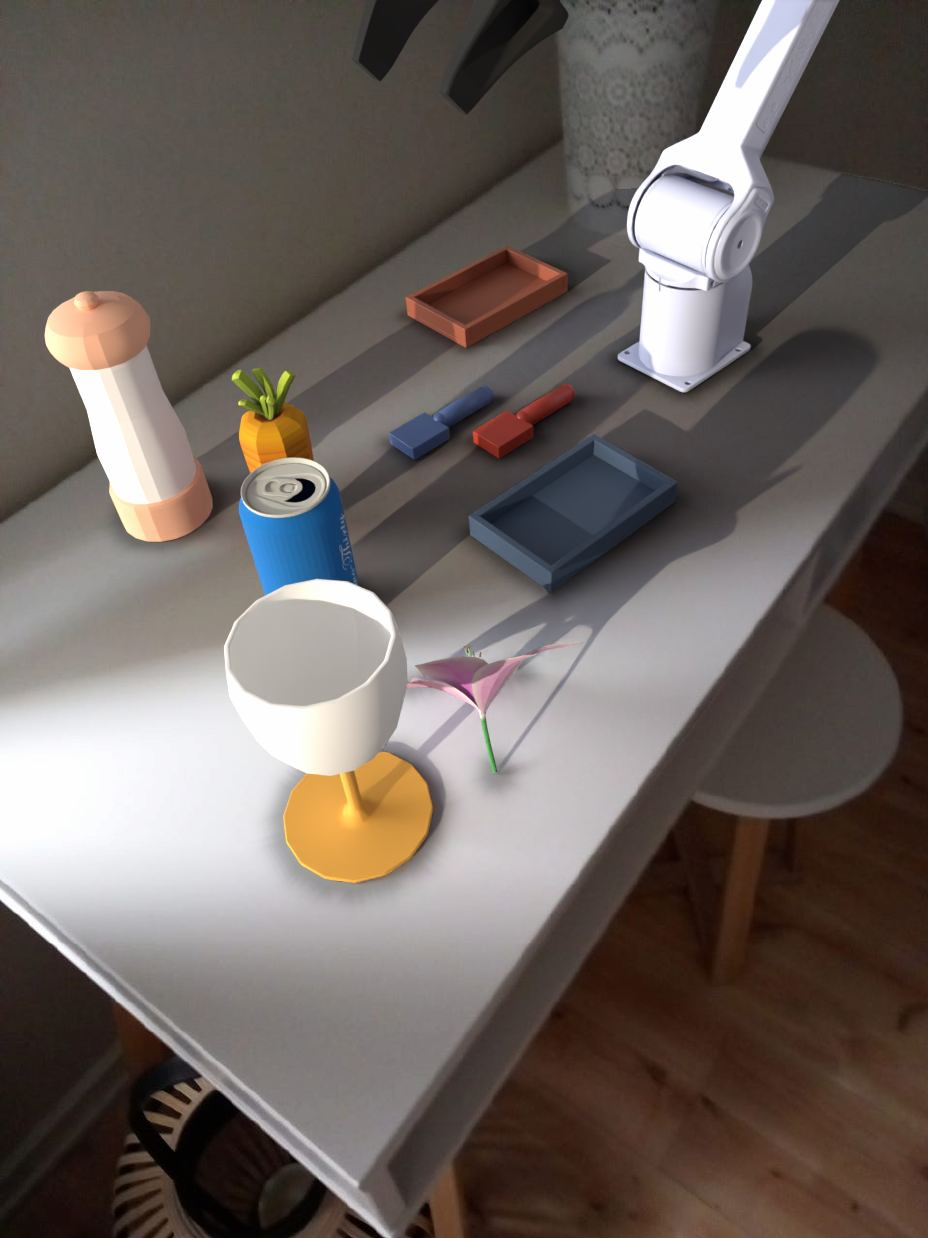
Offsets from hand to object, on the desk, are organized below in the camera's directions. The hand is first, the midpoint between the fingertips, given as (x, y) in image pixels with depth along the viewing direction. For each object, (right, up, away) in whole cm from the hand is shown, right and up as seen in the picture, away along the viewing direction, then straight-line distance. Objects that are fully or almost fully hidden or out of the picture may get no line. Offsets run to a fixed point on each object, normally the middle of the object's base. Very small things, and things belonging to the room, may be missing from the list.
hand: (407, 86), depth 54 cm
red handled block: (+9, -13, +29) cm, 33 cm away
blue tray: (+12, -22, +21) cm, 32 cm away
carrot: (-10, -23, +22) cm, 33 cm away
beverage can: (-7, -29, +16) cm, 34 cm away
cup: (-3, -42, +4) cm, 42 cm away
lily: (+4, -36, +9) cm, 38 cm away
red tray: (+5, +2, +42) cm, 43 cm away
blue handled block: (+2, -13, +30) cm, 32 cm away
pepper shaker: (-21, -21, +24) cm, 38 cm away
